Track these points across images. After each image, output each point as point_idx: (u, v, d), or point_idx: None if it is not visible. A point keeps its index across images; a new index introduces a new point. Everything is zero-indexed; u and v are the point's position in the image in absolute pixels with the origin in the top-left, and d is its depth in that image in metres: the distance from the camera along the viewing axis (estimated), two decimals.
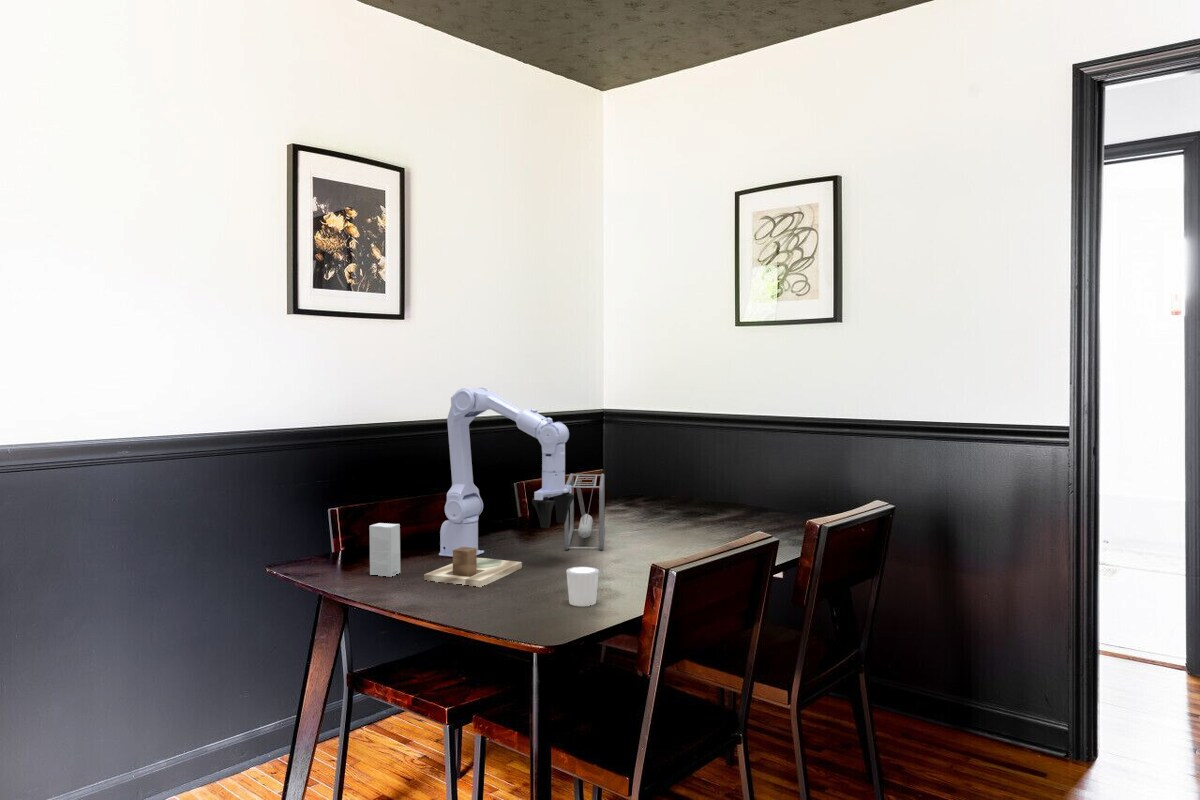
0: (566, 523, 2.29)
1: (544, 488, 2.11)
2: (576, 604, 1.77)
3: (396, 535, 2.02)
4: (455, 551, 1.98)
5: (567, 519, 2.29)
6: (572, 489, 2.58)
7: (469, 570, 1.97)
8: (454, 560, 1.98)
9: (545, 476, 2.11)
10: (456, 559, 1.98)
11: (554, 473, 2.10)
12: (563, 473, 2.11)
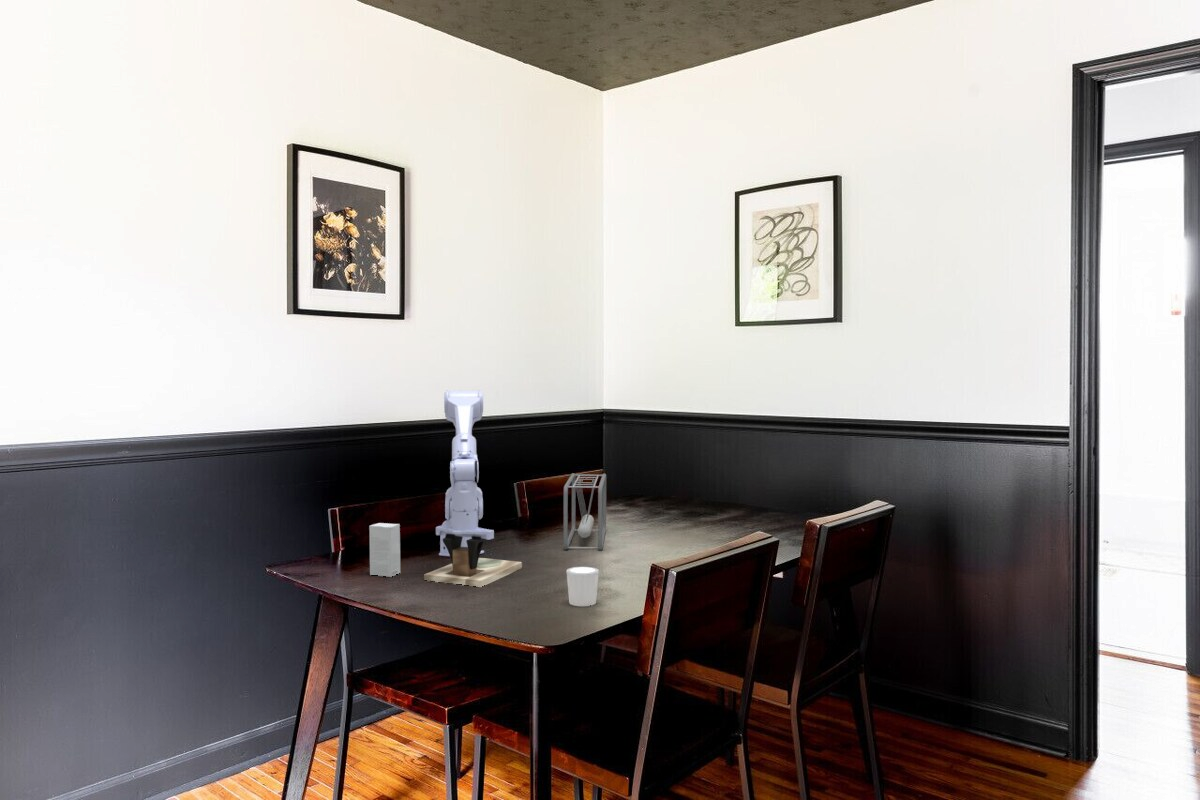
0: (565, 523, 2.29)
1: None
2: (576, 604, 1.77)
3: (396, 535, 2.02)
4: (455, 551, 1.98)
5: (566, 519, 2.29)
6: (574, 489, 2.58)
7: (469, 570, 1.97)
8: (454, 560, 1.98)
9: None
10: (456, 559, 1.98)
11: (452, 511, 1.98)
12: (458, 513, 1.96)
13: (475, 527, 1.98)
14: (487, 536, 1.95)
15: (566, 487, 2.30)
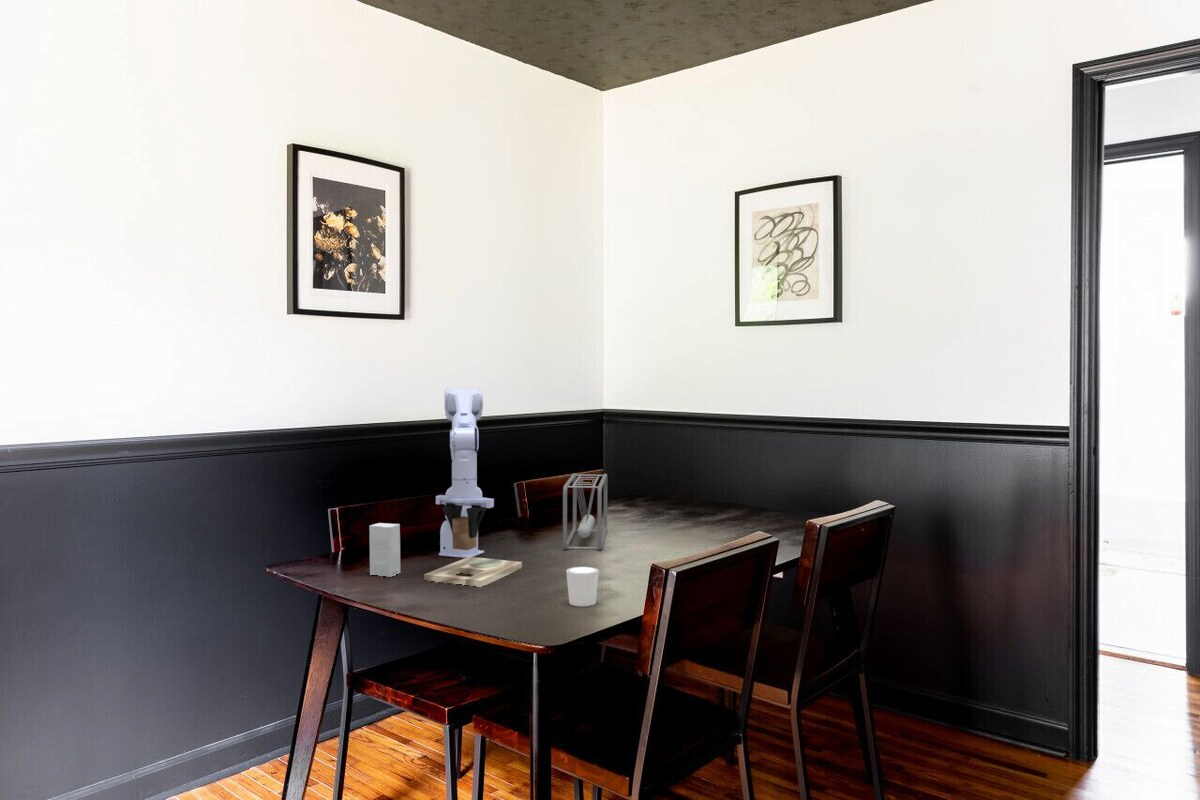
0: (564, 523, 2.29)
1: None
2: (576, 604, 1.77)
3: (396, 535, 2.02)
4: (455, 520, 1.97)
5: (565, 519, 2.29)
6: (575, 489, 2.58)
7: (469, 539, 1.97)
8: (454, 529, 1.97)
9: None
10: (456, 528, 1.97)
11: (452, 480, 1.98)
12: (458, 482, 1.96)
13: (475, 496, 1.98)
14: (487, 504, 1.95)
15: (566, 487, 2.30)
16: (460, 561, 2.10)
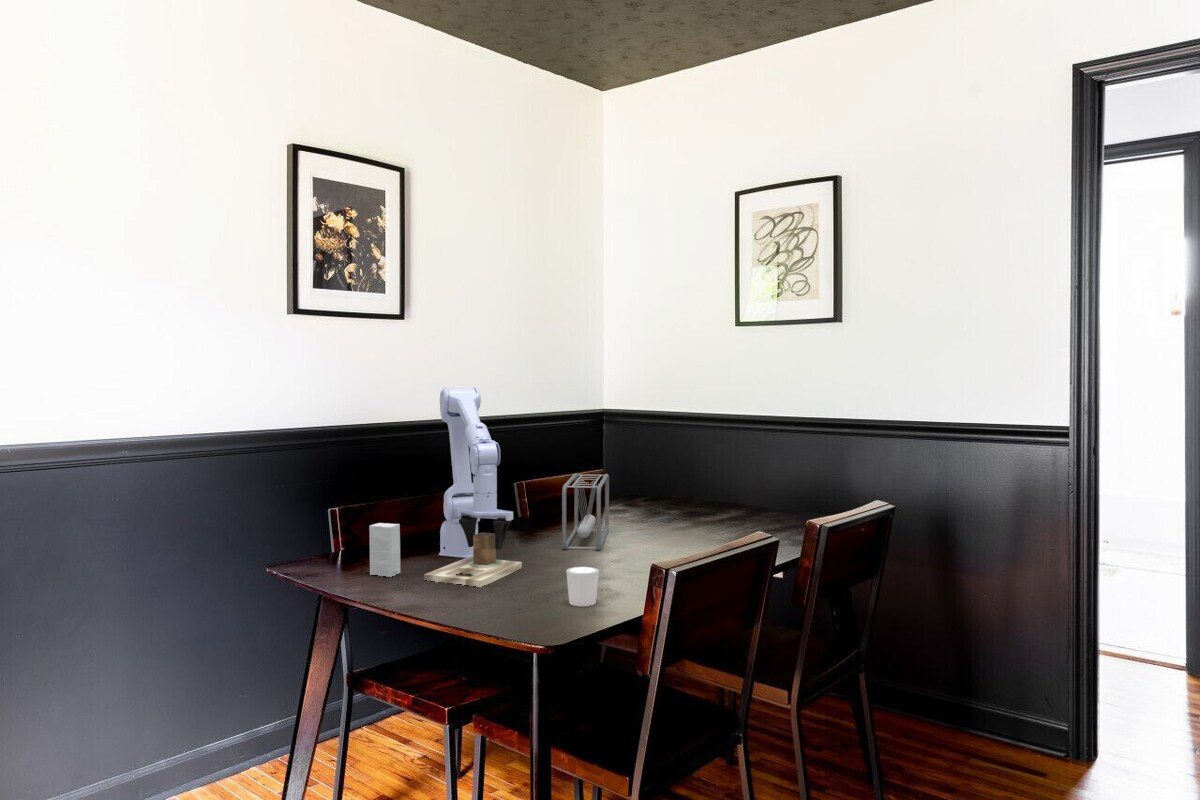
0: (563, 523, 2.29)
1: None
2: (576, 604, 1.77)
3: (396, 535, 2.02)
4: (475, 536, 2.06)
5: (564, 519, 2.29)
6: (576, 489, 2.58)
7: (489, 554, 2.06)
8: (474, 545, 2.06)
9: None
10: (476, 544, 2.06)
11: (473, 493, 2.07)
12: (479, 495, 2.05)
13: (495, 509, 2.07)
14: (507, 517, 2.04)
15: (565, 486, 2.30)
16: (460, 561, 2.10)
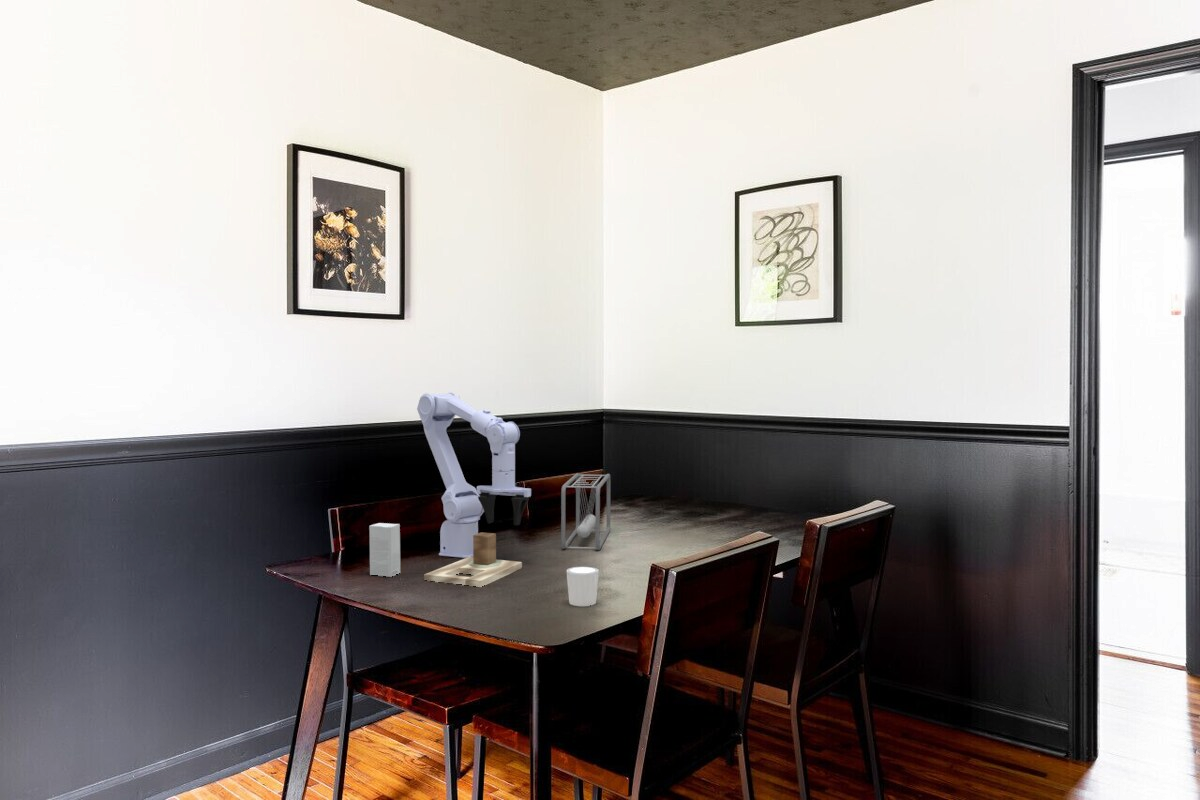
0: (563, 523, 2.29)
1: None
2: (576, 604, 1.77)
3: (396, 535, 2.02)
4: (475, 536, 2.06)
5: (564, 519, 2.29)
6: (578, 489, 2.58)
7: (489, 554, 2.06)
8: (474, 545, 2.06)
9: None
10: (476, 544, 2.06)
11: (492, 471, 2.14)
12: (498, 473, 2.12)
13: (513, 486, 2.14)
14: (525, 494, 2.11)
15: (564, 486, 2.30)
16: (460, 561, 2.10)
